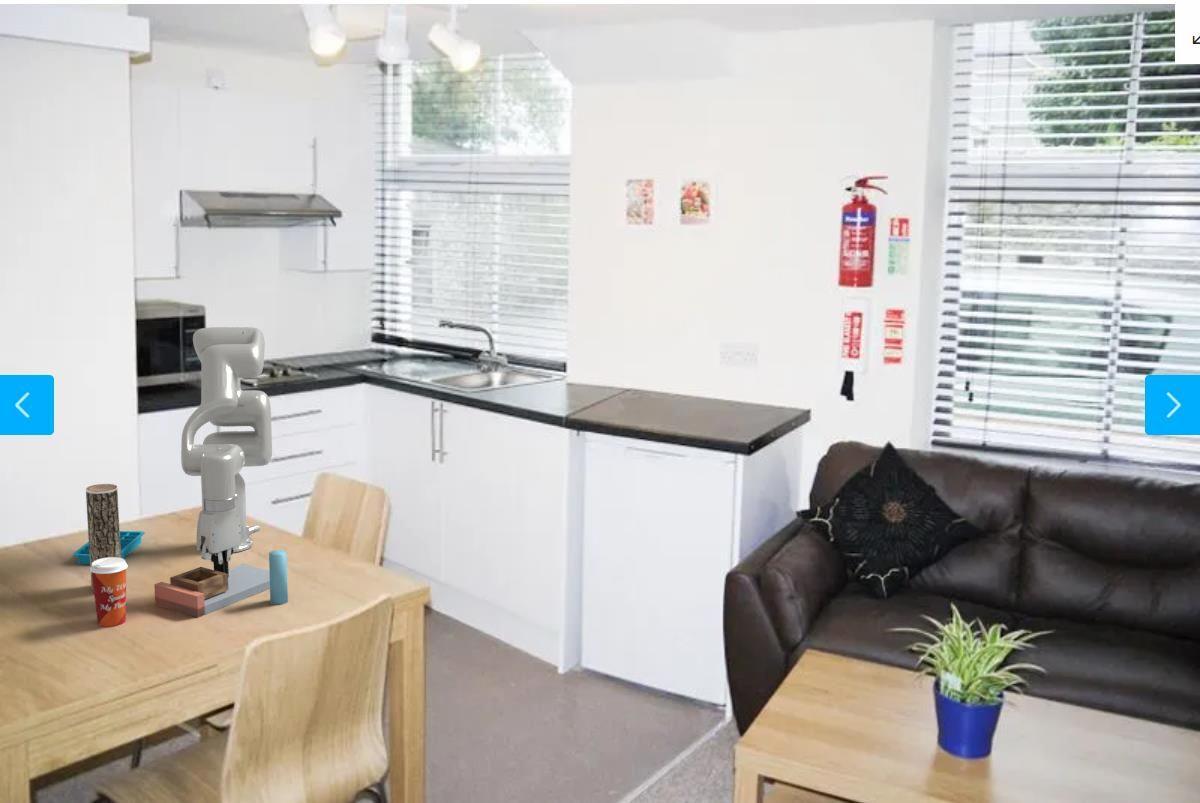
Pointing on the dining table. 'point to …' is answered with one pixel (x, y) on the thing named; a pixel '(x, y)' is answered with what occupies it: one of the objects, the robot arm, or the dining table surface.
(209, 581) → the square wooden tray
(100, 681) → the dining table surface
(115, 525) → the bark log
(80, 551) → the ice cube tray
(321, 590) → the dining table surface
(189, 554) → the dining table surface
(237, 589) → the long flat grey board
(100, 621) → the paper cup
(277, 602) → the dowel
